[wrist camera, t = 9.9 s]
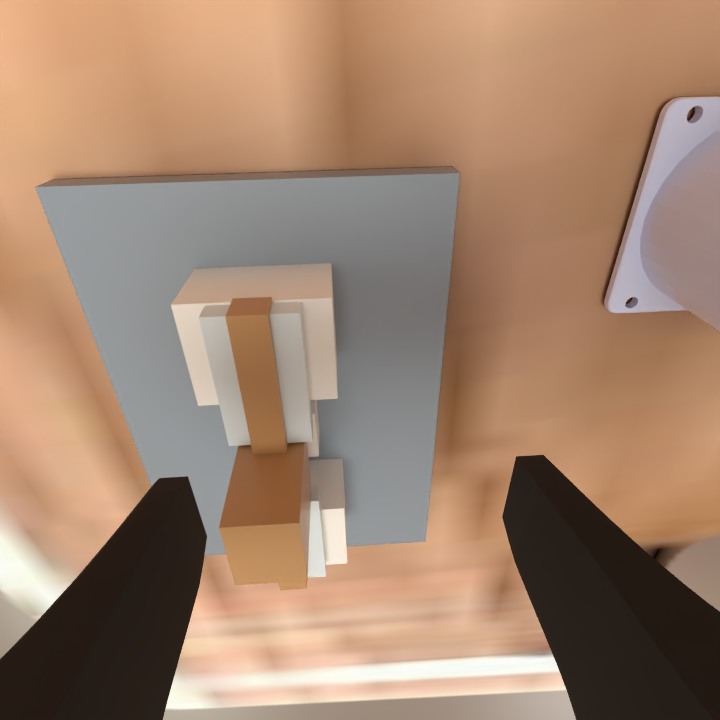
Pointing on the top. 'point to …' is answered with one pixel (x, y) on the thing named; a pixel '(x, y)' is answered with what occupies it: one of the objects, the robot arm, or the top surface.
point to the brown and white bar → (266, 441)
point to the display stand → (284, 284)
